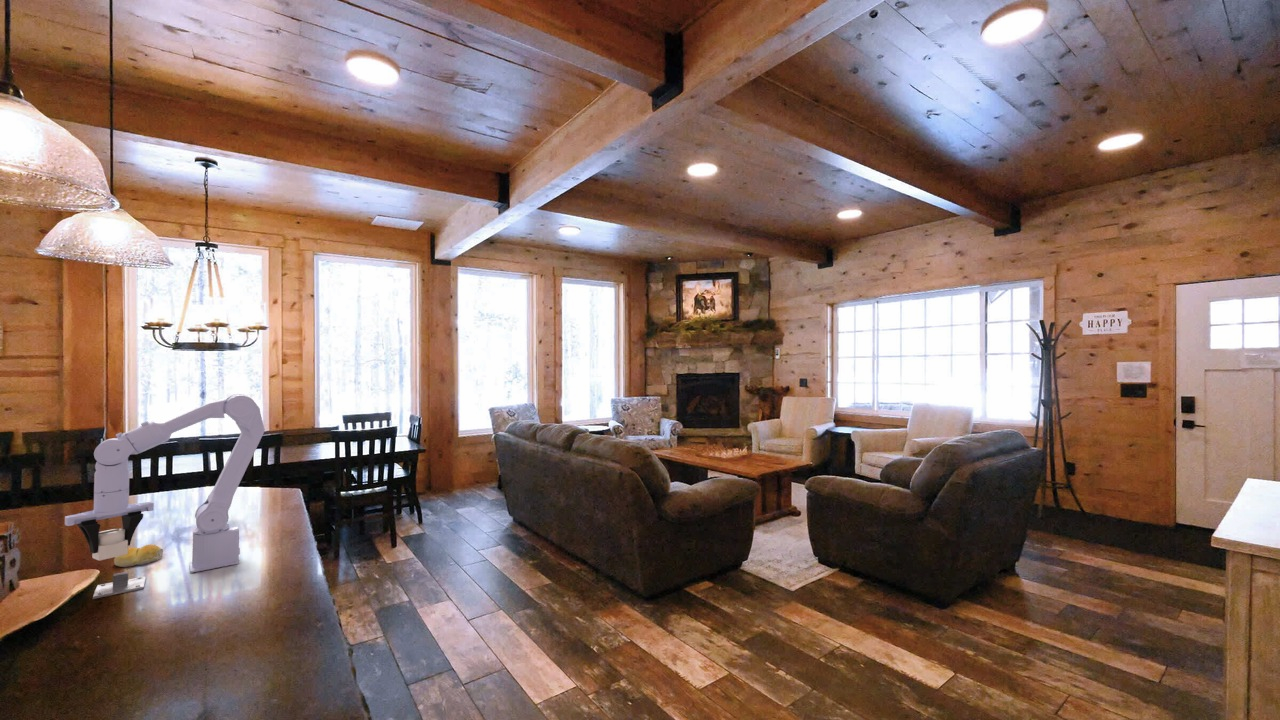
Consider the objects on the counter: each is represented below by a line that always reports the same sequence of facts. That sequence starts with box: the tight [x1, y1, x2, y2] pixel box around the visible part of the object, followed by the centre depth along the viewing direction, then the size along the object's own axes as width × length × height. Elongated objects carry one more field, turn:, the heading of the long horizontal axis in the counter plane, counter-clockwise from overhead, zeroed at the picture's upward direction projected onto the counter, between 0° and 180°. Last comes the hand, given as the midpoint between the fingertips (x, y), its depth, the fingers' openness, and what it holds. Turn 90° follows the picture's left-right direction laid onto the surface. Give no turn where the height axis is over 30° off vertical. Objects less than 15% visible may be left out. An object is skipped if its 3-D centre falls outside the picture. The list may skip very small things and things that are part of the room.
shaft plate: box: [92, 570, 147, 600], centre depth 117 cm, size 8×8×3 cm
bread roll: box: [113, 544, 164, 568], centre depth 134 cm, size 8×9×4 cm
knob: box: [91, 528, 129, 562], centre depth 119 cm, size 5×5×6 cm
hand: (110, 548), depth 119 cm, fingers closed on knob, 5 cm apart
